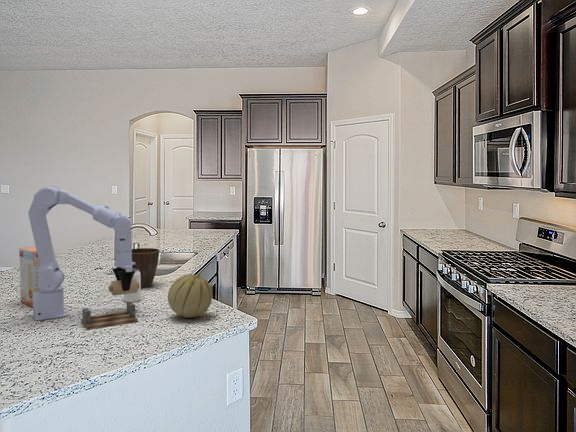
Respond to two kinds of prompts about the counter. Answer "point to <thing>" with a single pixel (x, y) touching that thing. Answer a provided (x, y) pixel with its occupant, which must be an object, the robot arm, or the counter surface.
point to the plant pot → (145, 264)
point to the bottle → (117, 287)
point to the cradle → (108, 318)
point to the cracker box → (28, 274)
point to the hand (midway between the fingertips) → (123, 289)
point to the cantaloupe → (190, 296)
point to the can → (137, 296)
